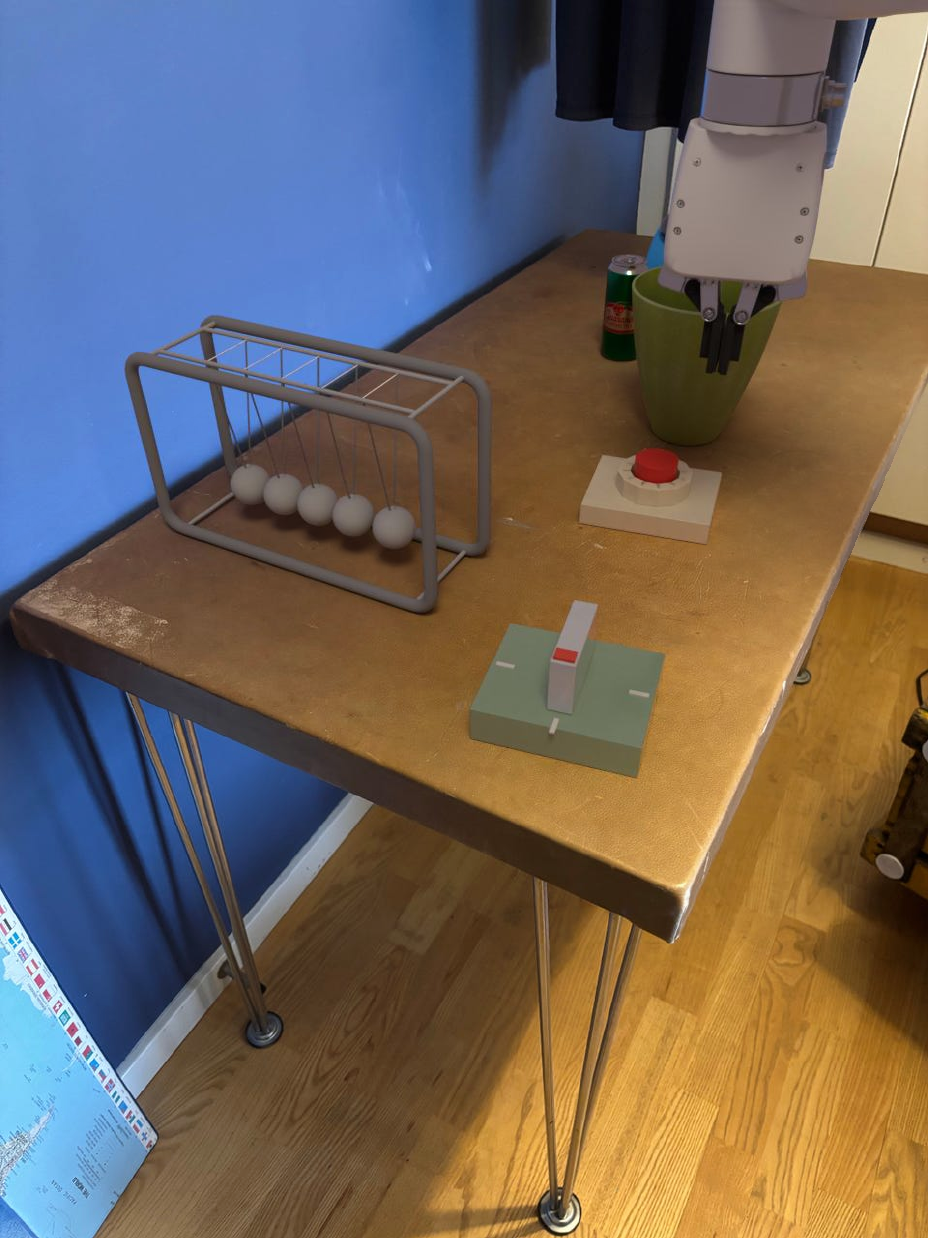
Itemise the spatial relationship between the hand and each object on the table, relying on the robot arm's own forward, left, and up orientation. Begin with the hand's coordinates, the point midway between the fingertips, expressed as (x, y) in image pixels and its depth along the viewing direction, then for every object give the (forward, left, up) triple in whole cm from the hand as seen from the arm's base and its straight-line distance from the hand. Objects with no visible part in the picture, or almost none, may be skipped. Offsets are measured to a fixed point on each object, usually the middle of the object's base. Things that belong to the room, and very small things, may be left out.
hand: (718, 367), depth 71 cm
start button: (+4, -7, -14) cm, 17 cm away
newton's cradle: (+32, +8, -18) cm, 38 cm away
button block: (+4, -7, -18) cm, 20 cm away
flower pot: (+3, -24, -18) cm, 31 cm away
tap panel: (+5, +23, -18) cm, 29 cm away
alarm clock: (+9, -58, -18) cm, 62 cm away
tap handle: (+5, +23, -15) cm, 28 cm away
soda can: (+14, -43, -18) cm, 49 cm away
